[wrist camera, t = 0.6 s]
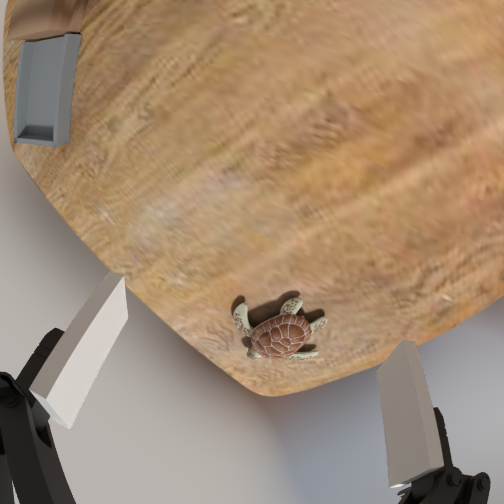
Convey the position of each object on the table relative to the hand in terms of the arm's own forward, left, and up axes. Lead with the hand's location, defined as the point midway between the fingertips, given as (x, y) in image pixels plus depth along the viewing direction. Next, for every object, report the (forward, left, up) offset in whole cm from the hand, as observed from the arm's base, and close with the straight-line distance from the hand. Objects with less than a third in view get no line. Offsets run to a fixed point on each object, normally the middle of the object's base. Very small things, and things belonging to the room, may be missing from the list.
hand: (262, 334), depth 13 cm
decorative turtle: (+27, +8, -28) cm, 40 cm away
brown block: (-19, -37, -27) cm, 50 cm away
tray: (-6, -37, -27) cm, 47 cm away
